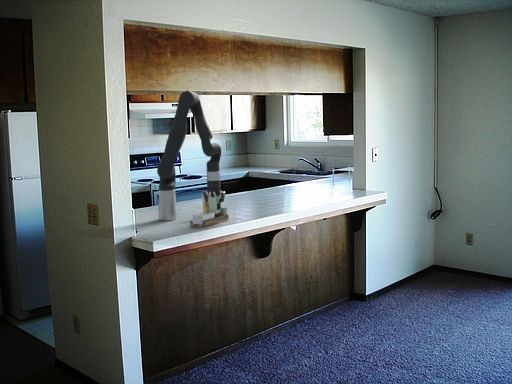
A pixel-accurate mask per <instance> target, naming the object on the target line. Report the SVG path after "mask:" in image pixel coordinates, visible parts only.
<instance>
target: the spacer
mask: <svg viewBox="0 0 512 384" xmlns="http://www.w3.org/2000/svg"><path fill="white" fill-rule="evenodd" d="M218 198H219V197H218ZM218 200H219V199H218ZM209 212H214V213H215V214H217V213H220V210H217V200H216V197H209Z"/></svg>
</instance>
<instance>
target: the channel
mask: <svg viewBox="0 0 512 384" xmlns="http://www.w3.org/2000/svg"><path fill="white" fill-rule="evenodd" d="M229 217H230V216H229V214H228V208H227V206H226V207H225V206H221V209H220V213H217V214H215V218H214V219H211V220H208V221H205V222H204V224H203V225H201V224H193V219H191V220H190V221H189V226H190V227H193V226H194V227H195V228H208V227H211V226H215V225H216V224H220V223H223V222H226V221H229V219H230V218H229Z"/></svg>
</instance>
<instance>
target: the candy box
mask: <svg viewBox="0 0 512 384" xmlns="http://www.w3.org/2000/svg"><path fill="white" fill-rule="evenodd" d="M201 193H202V194H201V196H202V212H204V211H207V212H209V203H208V202H206V201H205V198H204V195H203V191H201ZM208 197H209V194H208Z"/></svg>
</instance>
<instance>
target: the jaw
mask: <svg viewBox="0 0 512 384" xmlns="http://www.w3.org/2000/svg"><path fill="white" fill-rule="evenodd" d="M191 218H192V220H193V224H201V225H203V224H204V222H205V221H208V220H211V219H214V218H215V213H214V212H207V211H204V212H203V211H201V212H198V213H197V212H196V213H195V214H192V217H191Z"/></svg>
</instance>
